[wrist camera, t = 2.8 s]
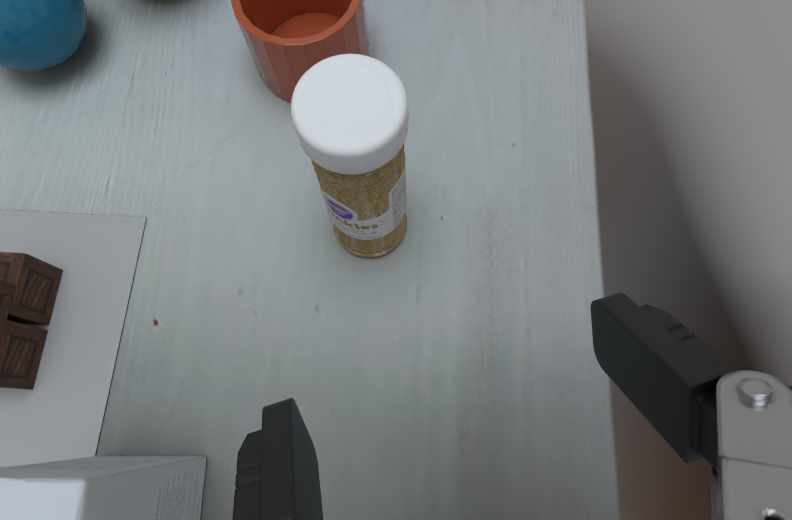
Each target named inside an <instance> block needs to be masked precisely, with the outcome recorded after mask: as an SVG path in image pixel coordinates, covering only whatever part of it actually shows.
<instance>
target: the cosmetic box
mask: <svg viewBox="0 0 792 520" xmlns="http://www.w3.org/2000/svg"><path fill="white" fill-rule="evenodd" d="M205 468H206V457H205V456H94V457H86V458H77V459H69V460H60V461H52V462H44V463H36V464H27V465H18V466H9V467H0V520H200V517H201V506H202V495H203V487H204V477H205Z"/></svg>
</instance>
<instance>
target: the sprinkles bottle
mask: <svg viewBox="0 0 792 520" xmlns="http://www.w3.org/2000/svg"><path fill="white" fill-rule="evenodd" d="M291 116H292V120H293V123H294V127H295V130H296V133H297V136H298V139H299V141H300V144H301V146H302V148H303V149H304V151H305V152H306V154H307V155H308V156H309V157H310V158H311V160H312V164H313V166H314V169H315V172H316V174H317V177H318V180H319V183H320V187H321V193H322V196H323V198H324V201H325V204H326V207H327V210H328V213H329V215H330V217H331V219H332V221H333V223H334V226H333V227H334V232H335V235H336V237H337V239H338V241H339V242H340V243H341V245H342V246H343V247H344V248H345V249H346V250H347V251H349V252H350V253H352V254H353V255H357V256H360V257H365V258H368V257H371V258H372V257H380V256H382V255H385V254H387V253H389V252H390V251H391V250H393V249H395V248H396V247H397V245H398V244H399V243H400V242H401V241H402V239H403V238H404V234H405V231H406V227H407V217H406V213H405V207H406V182H405V153H404V142H405V139H406V136H407V132H408V102H407V95H406V91H405V88H404V86H403V84H402V82H401V80H400V78H399V77H398V76H397V74H396V73H395V72H394V71H393V70H392V69H391V68H390V67H388V66H387V65H386V64H384V63H383V62H381V61H379V60H377V59H375V58H372V57H369V56H366V55H360V54H342V55H336V56H332V57H329V58H326V59H324V60H322V61H320V62H318V63H317V64H315V65H314V66H312V67H311V68H310V69H309V70H308V71H306V72H305V74H304V75H303V76H302V77H301V78H300V80H299V81H298V83H297V85H296V87H295V89H294V92H293V95H292V99H291Z"/></svg>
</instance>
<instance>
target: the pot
mask: <svg viewBox="0 0 792 520" xmlns="http://www.w3.org/2000/svg"><path fill="white" fill-rule="evenodd" d="M231 3H232V6H233V10H234V13H235V16H236V19H237V21H238V23H239V26H240V28H241V30H242V33H243V35H244V38H245V40H246V42H247V45H248V47H249V49H250V52H251V54H252V56H253V59H254V61H255V63H256V66H257V68H258V70H259V73H260V75H261V77H262V78H263V80H264V82H265V84H266V85H267V86H268V87H269V89H270V90H271V91H272V92H274V93H275V94H276V95H278V96H279V97H281V98H282V99H284V100H286V101H289V102H291V99H292V95H293V92H294V89H295V87H296V85H297V83H298V81H299V80H300V78H301V77H302V76H303V75H304V74H305V72H306V71H308V70H309V69H310V68H311V67H312V66H314V65H315V64H317V63H318V62H320V61H322V60H324V59H326V58H329V57H332V56H336V55H342V54H360V55H366V56H369V43H368V34H367V25H366V15H365V6H364V0H231Z"/></svg>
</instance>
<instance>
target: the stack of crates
mask: <svg viewBox="0 0 792 520" xmlns="http://www.w3.org/2000/svg"><path fill="white" fill-rule="evenodd" d="M145 221H146V217H132V216H113V215H94V214H75V213H57V212H38V211H19V210H0V466H1V467H9V466H18V465H27V464H36V463H44V462H52V461H60V460H69V459H77V458H86V457H94V456H95V453H96V449H97V444H98V439H99V435H100V430H101V425H102V421H103V416H104V411H105V407H106V402H107V398H108V393H109V388H110V384H111V379H112V374H113V370H114V365H115V360H116V356H117V351H118V346H119V342H120V337H121V333H122V328H123V323H124V319H125V314H126V309H127V305H128V300H129V295H130V291H131V286H132V281H133V277H134V272H135V267H136V263H137V258H138V254H139V249H140V244H141V240H142V235H143V230H144V226H145Z"/></svg>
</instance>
